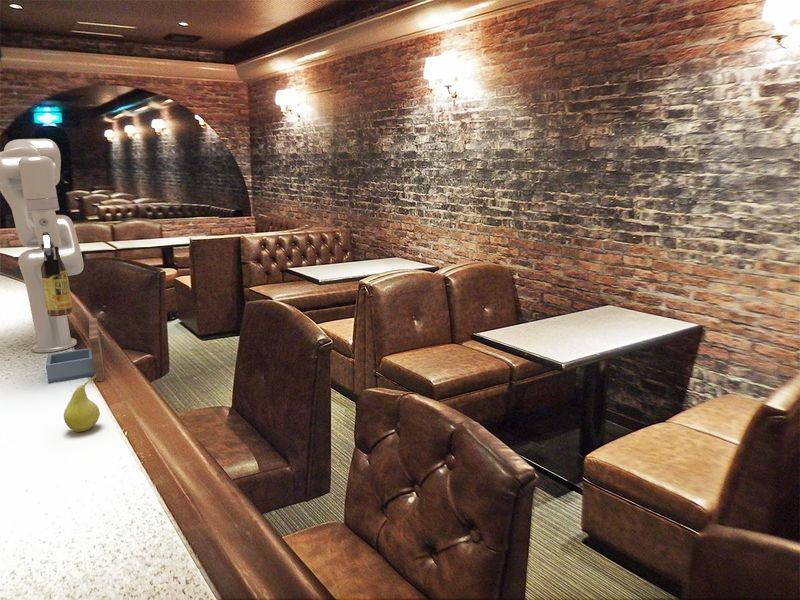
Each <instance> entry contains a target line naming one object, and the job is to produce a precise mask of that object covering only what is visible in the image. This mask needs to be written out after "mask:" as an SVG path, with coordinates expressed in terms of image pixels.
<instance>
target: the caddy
mask: <svg viewBox="0 0 800 600" xmlns="http://www.w3.org/2000/svg"><path fill="white" fill-rule="evenodd" d="M45 370H46V376H47V381H48V384H54V382H55V383H60V382H65V381H66V382H67V381H71V380H77V379H82V378H84V379H85V378H89V377H93V375H95V370H94V364H93V358H92V352H91V347H89V348H82V349H75V350H70V351H64V352H56V353H55V352H54V353H50V354H47V357H46V361H45Z"/></svg>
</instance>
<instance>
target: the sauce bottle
mask: <svg viewBox="0 0 800 600" xmlns="http://www.w3.org/2000/svg"><path fill="white" fill-rule="evenodd" d="M41 246H42V244H41ZM50 248H53V246H50ZM55 252H56V259H58V264H59V270H60V274H59V275H53V276H47V275H46V271H45V265H44V262H43V264H42V266H41V274H42V283H43V290H44V296H45V303H46V309H47V311H48V315H49V316H63V315H67V316H68V315H70V314H72V313H73V302H72V294H71V288H70V281H69V276H68V273H67V270H66V268H65V266H64V264H63V262H62V260H61V258H60V255H59V249H58V247H55ZM44 261H45V260H44Z"/></svg>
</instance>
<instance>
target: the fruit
mask: <svg viewBox="0 0 800 600" xmlns="http://www.w3.org/2000/svg"><path fill="white" fill-rule="evenodd" d="M94 380H96V375H94V376H91V378H90V379H88V380H87V381H86V382H85V383H83V384H81V385H79V386H78V387H77V388H76V389H75V390H74V391H73V393H72V394H71V395H72V396H71V398H70V400H69V401H68V403H67V406H66V407H65V409H64V412H63V420H64V423H65V424H66V426H67V427H68V428H69V429H70V430H72V431H74V432H77V433H83V432H85V431H88V430H89V429H92V427H93V426H95V425H96V423H97V422H98V420H99V418H100V416H101V413H100V408H99V406H98V405H97V404H96V403H95V402H94V401H93V400H91V399H89V398H88V395H87V392H86V386H87V385H88V384H89V383H90V382H92V381H94Z"/></svg>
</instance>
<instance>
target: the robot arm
mask: <svg viewBox="0 0 800 600" xmlns="http://www.w3.org/2000/svg"><path fill="white" fill-rule="evenodd" d="M61 156H62V155H61V151H60V148H59V146H58V145H57V143H56V142H55V141H53V140H52V139H49V138H22V139H21V138H20V139H13V140H11V141H9V142H7V143H6V145H5V146H4V149H3V151H0V193H1V194H2V196H3V198H4V199H5V200H6V202H7V203H8V205H9V207H10V209H11V212H12V216H13V217H12V218H13V221H14V225H15V230H16V234H17V237H18V240H19V242H20V243H21V245H22V246H23V247H25V248H29V250H25V251H24V252H22V253H21V254H20V255H19V256H18V265H19V267H18V268H19V269H20V272H21V274H22V278H23V280H24V284H25V288H26V291H27V296H28V297H27V298H28V301H29V307H30V311H31V312H30V314H31V317H32V322H33V323H32V324H33V329H34V335H35V340H36V343H35V344H34V345H32V347H31V349H32V350H31V351H32V352H34V353H40V354H43V353H52V352H53V353H55V352H59V351H63V350H67V349H70V348H73V347H75V346H76V345H77V344H78V341H77V339H76V338H73V337H71V332H70V326H69V319H68V315H63V316H49V315H48V311H47V309H46V303H45V296H44V290H43V283H42V274H41V266H42V264H43V262H44V265H45V271H46V275H47V276H53V275H59V274H60V270H59V264H58V259H56V252H55V247H58V249H59V255H60V258H61V260H62V262H63V264H64V266H65V268H66V270H67V273H68V277H69V276H75V275H76V276H77V275H79V274H81V273H82V272H83V270H84V259H83V255H82V250H81V246H80V243H79V239H78V234H77V231H76V227H75V225H74V223H73V221H72V219H71V218H70V217H69V216H67V215H65V214H56V211H60V206H59V201H58V200H59V199H58V194H57V193H58V192H57V188H56V186H57V185H58V184H60V183H59V182H60V180H61V166H62V164H61V163H62V162H61V161H62V158H61ZM41 244H42V246H41ZM50 246H53V248H50ZM30 248H32V249H30ZM44 260H45V261H44Z"/></svg>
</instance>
